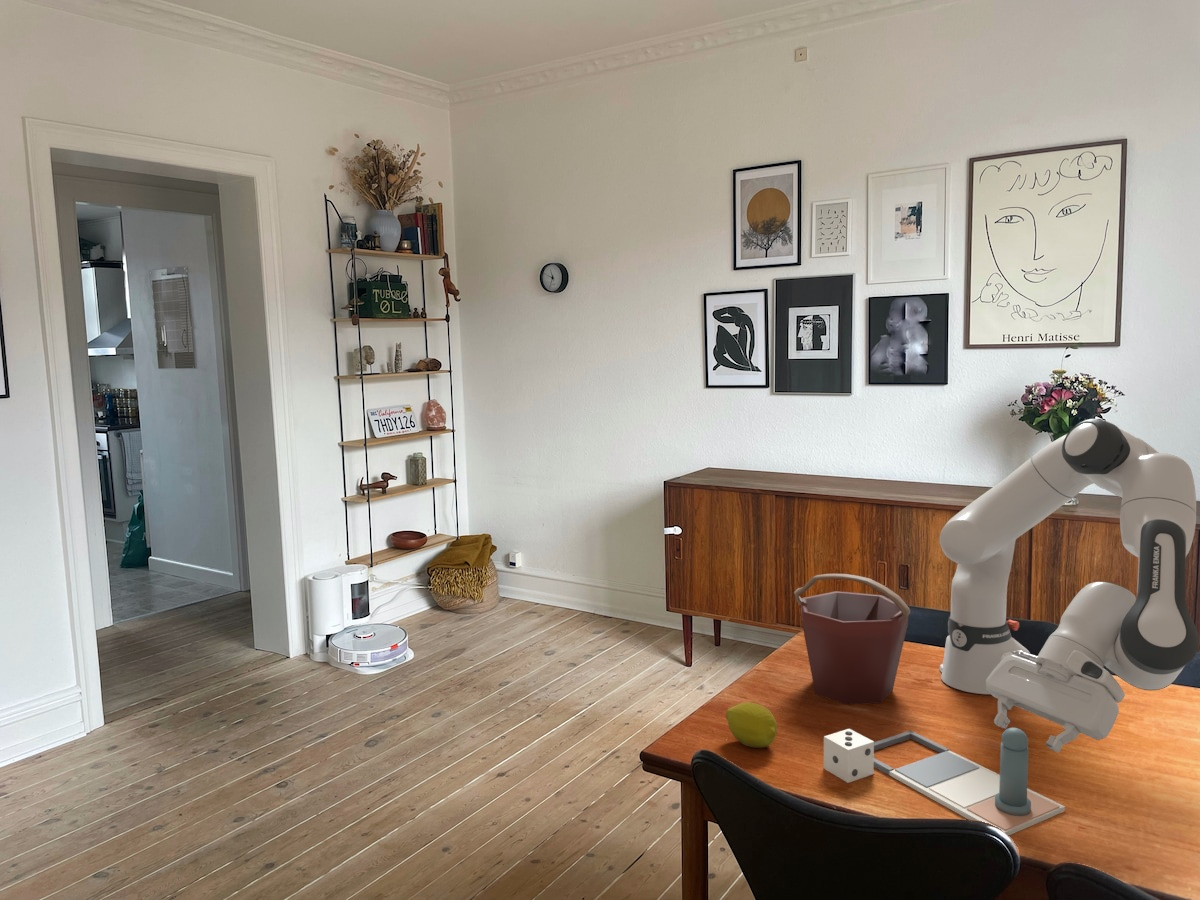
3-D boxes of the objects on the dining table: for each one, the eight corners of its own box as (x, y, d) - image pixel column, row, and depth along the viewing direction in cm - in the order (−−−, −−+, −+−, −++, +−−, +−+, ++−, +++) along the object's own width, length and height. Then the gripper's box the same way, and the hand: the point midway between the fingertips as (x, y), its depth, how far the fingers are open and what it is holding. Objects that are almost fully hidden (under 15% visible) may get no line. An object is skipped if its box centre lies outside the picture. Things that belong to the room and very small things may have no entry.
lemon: (787, 749, 162) (787, 708, 161) (756, 761, 158) (756, 719, 157) (748, 728, 172) (747, 690, 171) (717, 739, 167) (717, 699, 166)
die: (848, 760, 158) (849, 727, 157) (874, 774, 152) (874, 741, 152) (823, 768, 155) (823, 735, 154) (847, 783, 150) (848, 749, 149)
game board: (910, 735, 167) (910, 730, 167) (1064, 811, 139) (1064, 805, 139) (852, 754, 160) (852, 749, 160) (1002, 838, 132) (1002, 832, 132)
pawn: (1008, 795, 142) (1011, 718, 141) (1038, 810, 138) (1040, 731, 136) (987, 804, 140) (989, 726, 138) (1016, 819, 135) (1019, 739, 134)
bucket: (774, 685, 192) (774, 575, 189) (834, 660, 206) (834, 557, 203) (872, 720, 174) (873, 599, 170) (930, 690, 188) (932, 577, 185)
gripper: (1002, 637, 150) (961, 703, 147) (1119, 677, 132) (1075, 753, 129) (1018, 657, 153) (978, 722, 150) (1135, 698, 135) (1092, 773, 132)
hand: (1024, 736), depth 139 cm, fingers open, 8 cm apart
